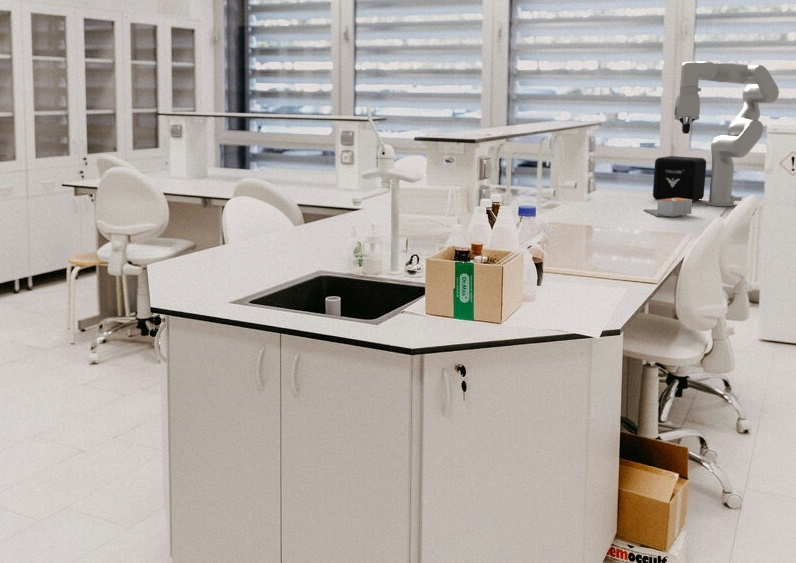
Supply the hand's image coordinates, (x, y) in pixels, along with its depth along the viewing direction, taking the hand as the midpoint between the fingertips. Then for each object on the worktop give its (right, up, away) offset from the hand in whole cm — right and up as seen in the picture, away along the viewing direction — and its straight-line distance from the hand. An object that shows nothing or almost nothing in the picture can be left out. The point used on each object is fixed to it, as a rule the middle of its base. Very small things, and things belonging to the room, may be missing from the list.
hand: (685, 133), depth 403 cm
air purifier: (+7, -27, +34) cm, 44 cm away
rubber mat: (-13, -36, -11) cm, 40 cm away
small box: (-4, -33, -13) cm, 36 cm away
